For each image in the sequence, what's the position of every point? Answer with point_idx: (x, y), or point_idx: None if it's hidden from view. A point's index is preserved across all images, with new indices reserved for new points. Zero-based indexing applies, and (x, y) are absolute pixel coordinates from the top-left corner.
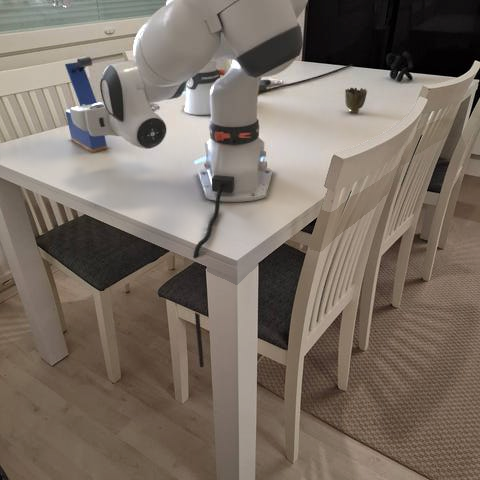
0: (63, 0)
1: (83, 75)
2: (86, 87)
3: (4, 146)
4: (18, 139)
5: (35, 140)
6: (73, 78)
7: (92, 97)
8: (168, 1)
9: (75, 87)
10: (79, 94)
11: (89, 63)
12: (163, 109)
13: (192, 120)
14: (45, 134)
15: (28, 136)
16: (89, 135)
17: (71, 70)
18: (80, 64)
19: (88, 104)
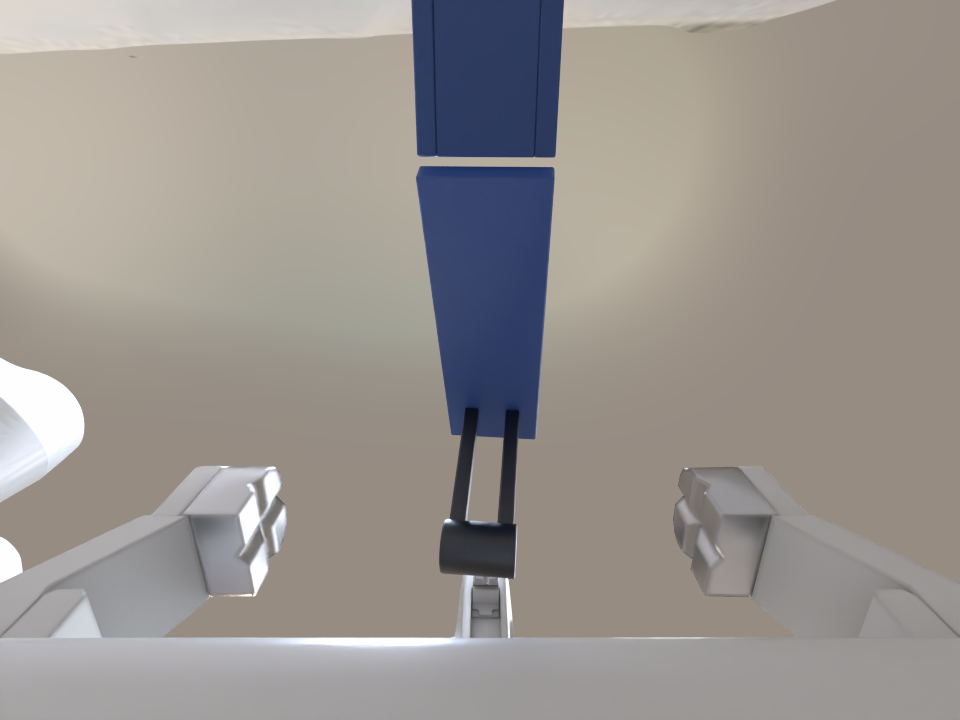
0: None
1: (464, 393)
2: (469, 348)
3: (818, 5)
4: (717, 20)
5: (682, 4)
6: (525, 391)
7: (449, 298)
8: (73, 443)
9: (535, 358)
10: (528, 325)
11: (457, 559)
12: (27, 21)
13: None
14: (606, 18)
15: (667, 23)
16: (559, 7)
17: (519, 418)
18: (515, 558)
19: (705, 582)
